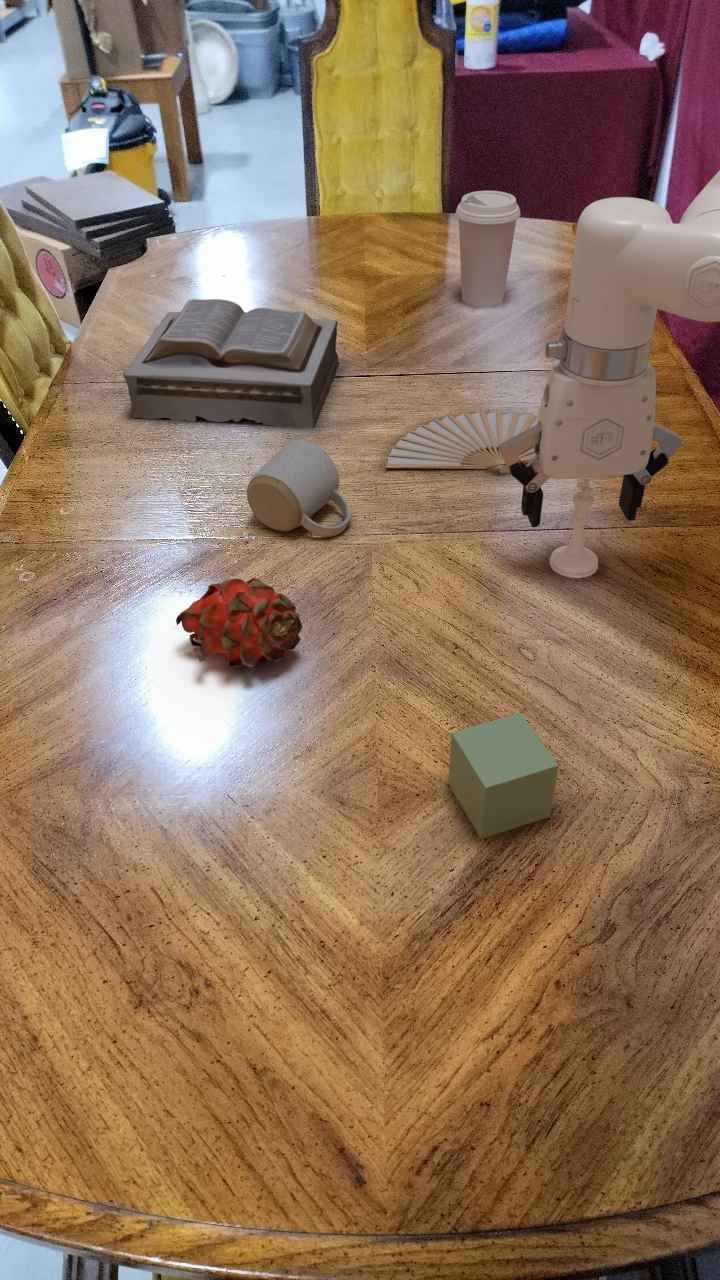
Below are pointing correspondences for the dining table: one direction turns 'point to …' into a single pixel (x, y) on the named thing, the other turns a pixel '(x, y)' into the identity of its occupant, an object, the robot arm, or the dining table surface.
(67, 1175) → the dining table surface
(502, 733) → the block
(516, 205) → the coffee cup
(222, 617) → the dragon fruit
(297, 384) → the bible
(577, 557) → the chess piece
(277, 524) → the ceramic mug
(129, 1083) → the dining table surface
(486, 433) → the hand fan
